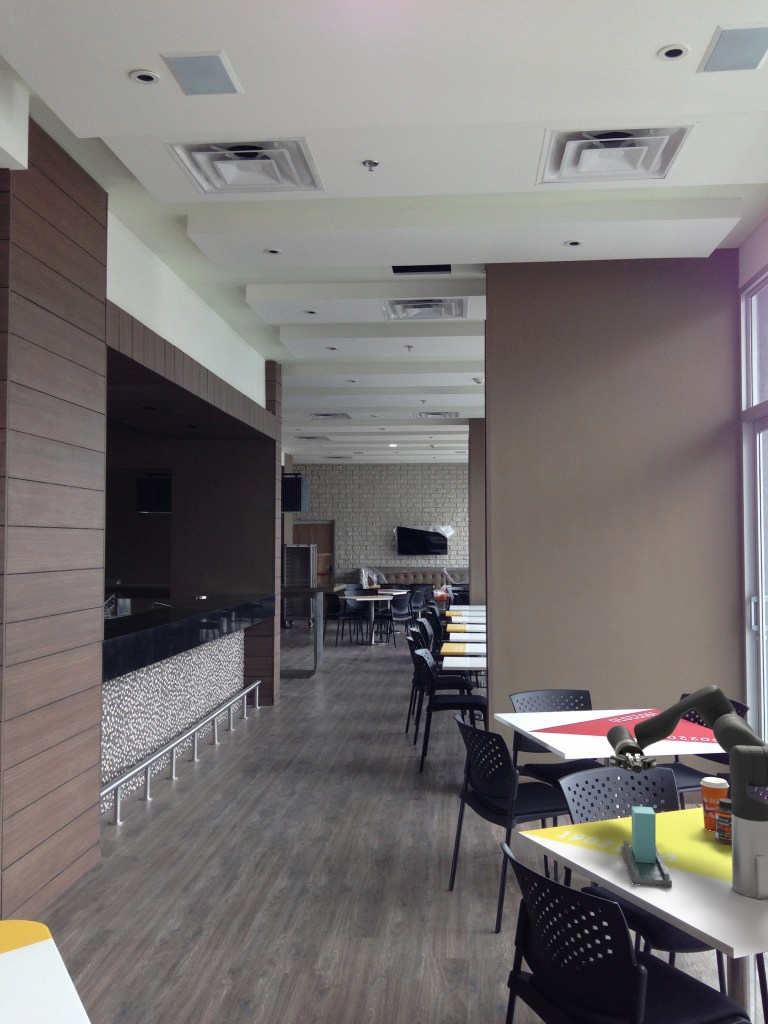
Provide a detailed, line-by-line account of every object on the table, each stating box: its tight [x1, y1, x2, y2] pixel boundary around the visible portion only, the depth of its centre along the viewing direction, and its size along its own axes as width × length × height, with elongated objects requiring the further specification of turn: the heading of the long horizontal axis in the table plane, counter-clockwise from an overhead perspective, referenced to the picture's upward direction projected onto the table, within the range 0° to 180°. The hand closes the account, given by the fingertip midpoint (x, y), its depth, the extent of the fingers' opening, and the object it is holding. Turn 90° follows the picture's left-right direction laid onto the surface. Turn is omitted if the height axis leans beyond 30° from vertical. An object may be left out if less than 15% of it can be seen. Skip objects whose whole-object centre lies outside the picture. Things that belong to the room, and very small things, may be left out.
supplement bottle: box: [714, 798, 732, 846], centre depth 227 cm, size 6×6×11 cm
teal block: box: [631, 805, 657, 864], centre depth 208 cm, size 6×5×12 cm
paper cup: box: [700, 776, 730, 832], centre depth 238 cm, size 8×8×14 cm
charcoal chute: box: [620, 839, 673, 889], centre depth 205 cm, size 23×9×3 cm, turn 170°
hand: (637, 769), depth 220 cm, fingers closed
